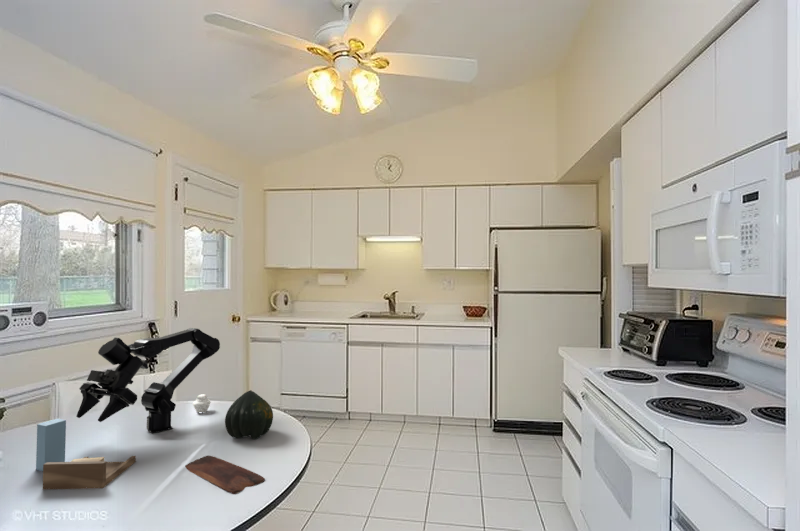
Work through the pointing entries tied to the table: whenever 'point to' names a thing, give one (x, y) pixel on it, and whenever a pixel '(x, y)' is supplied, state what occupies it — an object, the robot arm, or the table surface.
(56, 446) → the light blue block
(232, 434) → the squash
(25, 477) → the table surface
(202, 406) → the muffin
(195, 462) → the wooden tablet
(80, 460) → the offcut upper
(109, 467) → the tray
